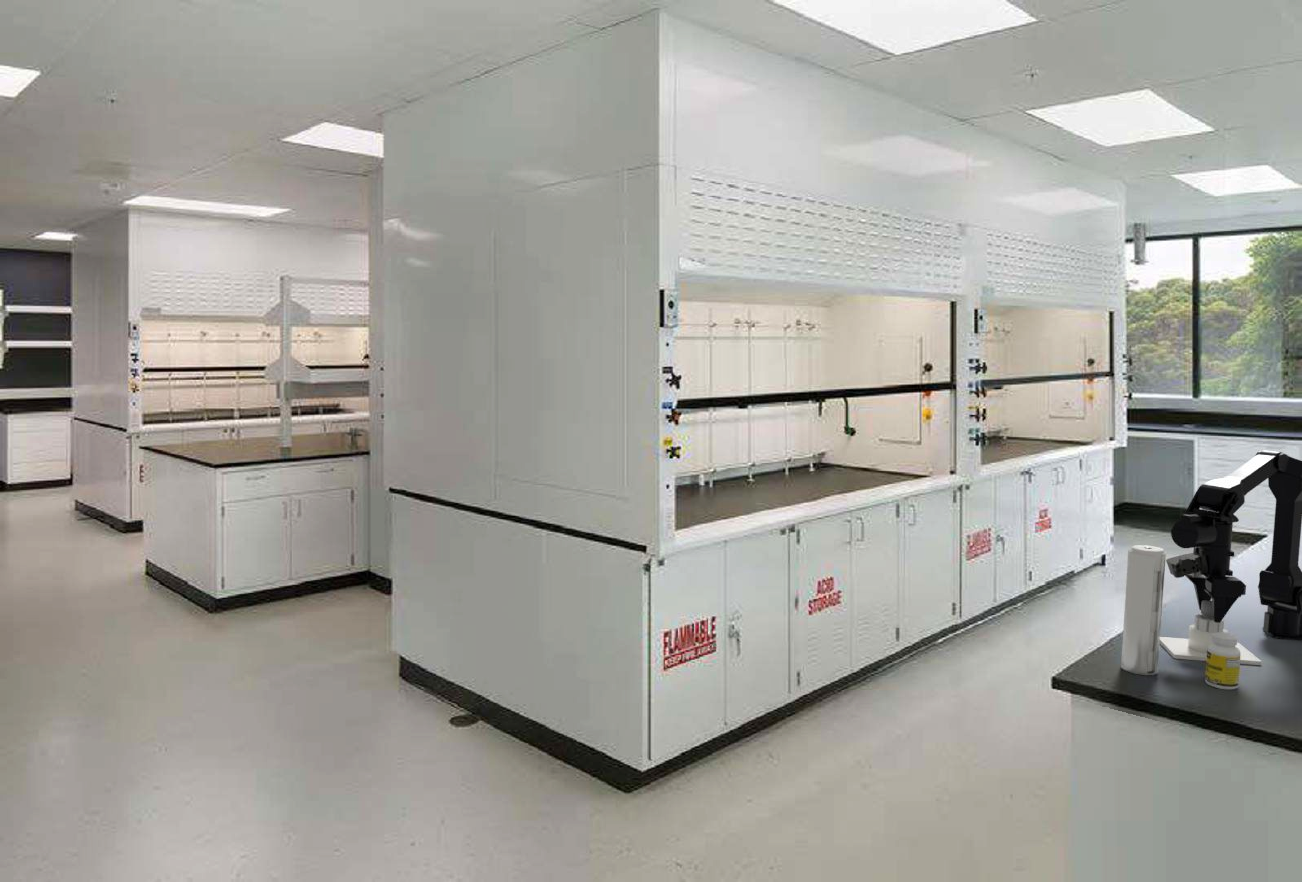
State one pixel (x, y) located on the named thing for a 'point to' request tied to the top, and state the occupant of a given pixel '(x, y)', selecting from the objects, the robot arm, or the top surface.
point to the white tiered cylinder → (1203, 633)
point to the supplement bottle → (1223, 662)
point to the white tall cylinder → (1143, 609)
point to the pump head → (1207, 609)
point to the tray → (1182, 651)
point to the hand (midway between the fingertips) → (1209, 616)
